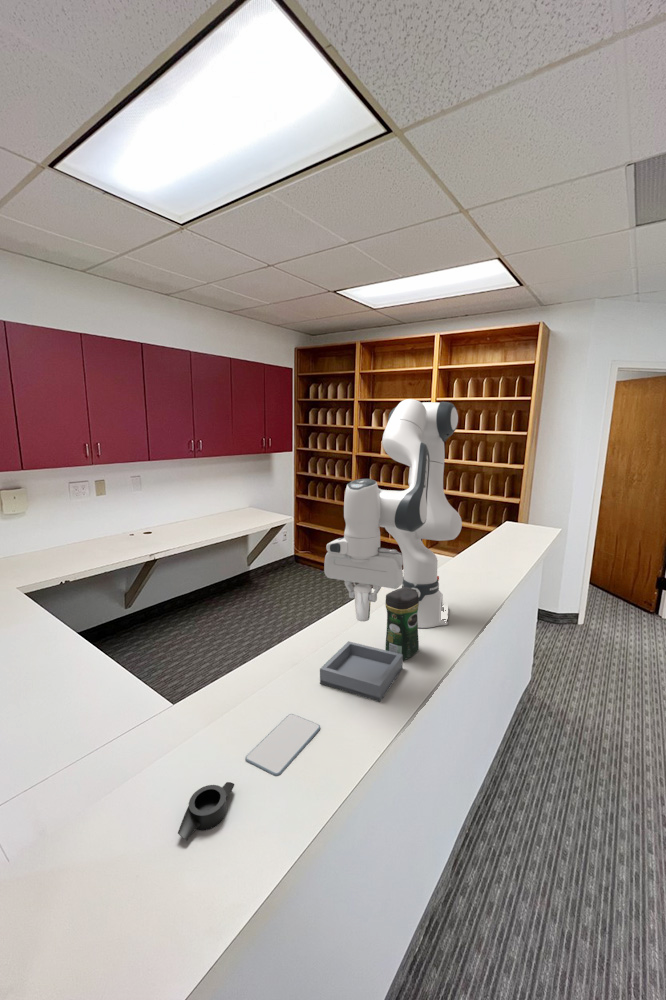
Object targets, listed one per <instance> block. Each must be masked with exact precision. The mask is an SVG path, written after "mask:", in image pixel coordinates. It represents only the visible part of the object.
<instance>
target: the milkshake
mask: <svg viewBox="0 0 666 1000" xmlns="http://www.w3.org/2000/svg"><path fill="white" fill-rule="evenodd" d="M352 584H353V585H354V586H353V588H354V597H355V598H354V606H355V618H356V619H355V620H357V621H358V622H362V623H363V622H368V621H369V620H370V616H371V615H370V613H371V601H369V595H370V594H371V593H373V592H372V591H373V586H372V585H368V584H362V583H357V584H356V582H353V583H352Z"/></svg>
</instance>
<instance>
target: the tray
mask: <svg viewBox="0 0 666 1000" xmlns="http://www.w3.org/2000/svg"><path fill="white" fill-rule="evenodd" d="M403 661H404V660H403V654H399V653H395V652H390V651H386V650H385V649H381V648H377V647H374V646H369V645H365V644H362V643H356V642H352V641H347V642H346V643H345V644H344V645H343V646H342V647H341V648H339V650H337V652H336V653H334V654H333V655H332V656H331V657H330V658H329V659H328V660H327V661H326V662H325V663H324V664H323V665H322V666H321V667H320V668H319V684H320V685H323V686H326V687H330V688H333V689H336V690H339V691H342V692H346V693H349V694H352V695H355V696H359V697H363V698H366V699H369V700H372V701H375V702H378V703H380V702H381V701H382V699H383V698H384V696H386V694H387V692H388V691H389V689H390V688H391V687H392V685H393V684H394V682H395V680H396V679H397V677H398V676H399V675H400V673H401V671H402V670H403Z"/></svg>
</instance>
